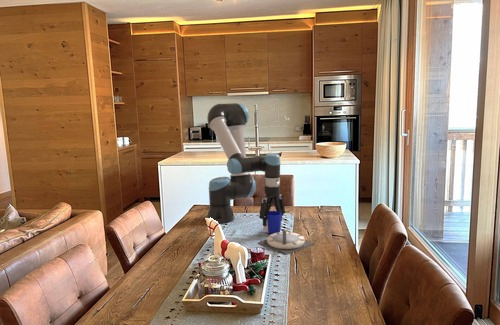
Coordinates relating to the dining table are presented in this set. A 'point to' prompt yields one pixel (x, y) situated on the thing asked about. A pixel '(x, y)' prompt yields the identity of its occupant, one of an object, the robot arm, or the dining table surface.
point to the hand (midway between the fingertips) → (272, 229)
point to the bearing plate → (286, 251)
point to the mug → (274, 222)
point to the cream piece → (285, 240)
